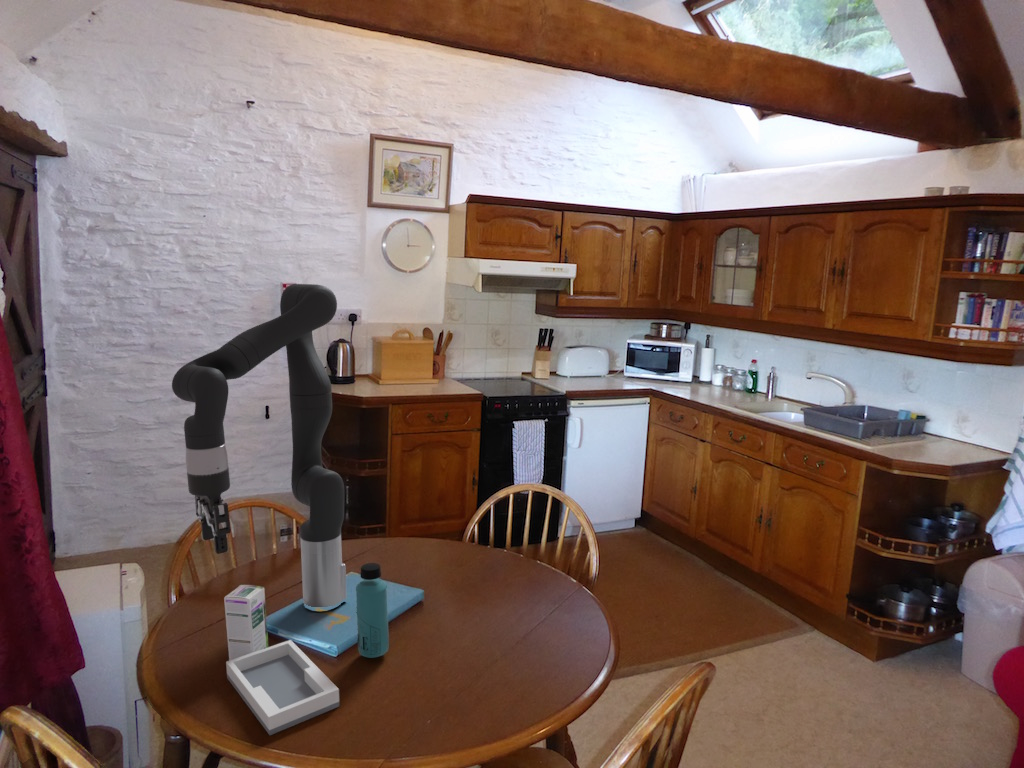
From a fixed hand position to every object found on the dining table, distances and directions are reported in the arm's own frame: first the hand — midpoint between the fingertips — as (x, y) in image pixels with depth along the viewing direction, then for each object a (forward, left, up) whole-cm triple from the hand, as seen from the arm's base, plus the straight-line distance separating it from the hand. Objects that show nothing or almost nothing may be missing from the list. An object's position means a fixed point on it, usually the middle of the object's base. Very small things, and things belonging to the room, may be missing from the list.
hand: (214, 545), depth 142 cm
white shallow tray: (-5, +19, -24) cm, 31 cm away
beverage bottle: (-24, +19, -25) cm, 39 cm away
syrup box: (-4, +3, -25) cm, 25 cm away
